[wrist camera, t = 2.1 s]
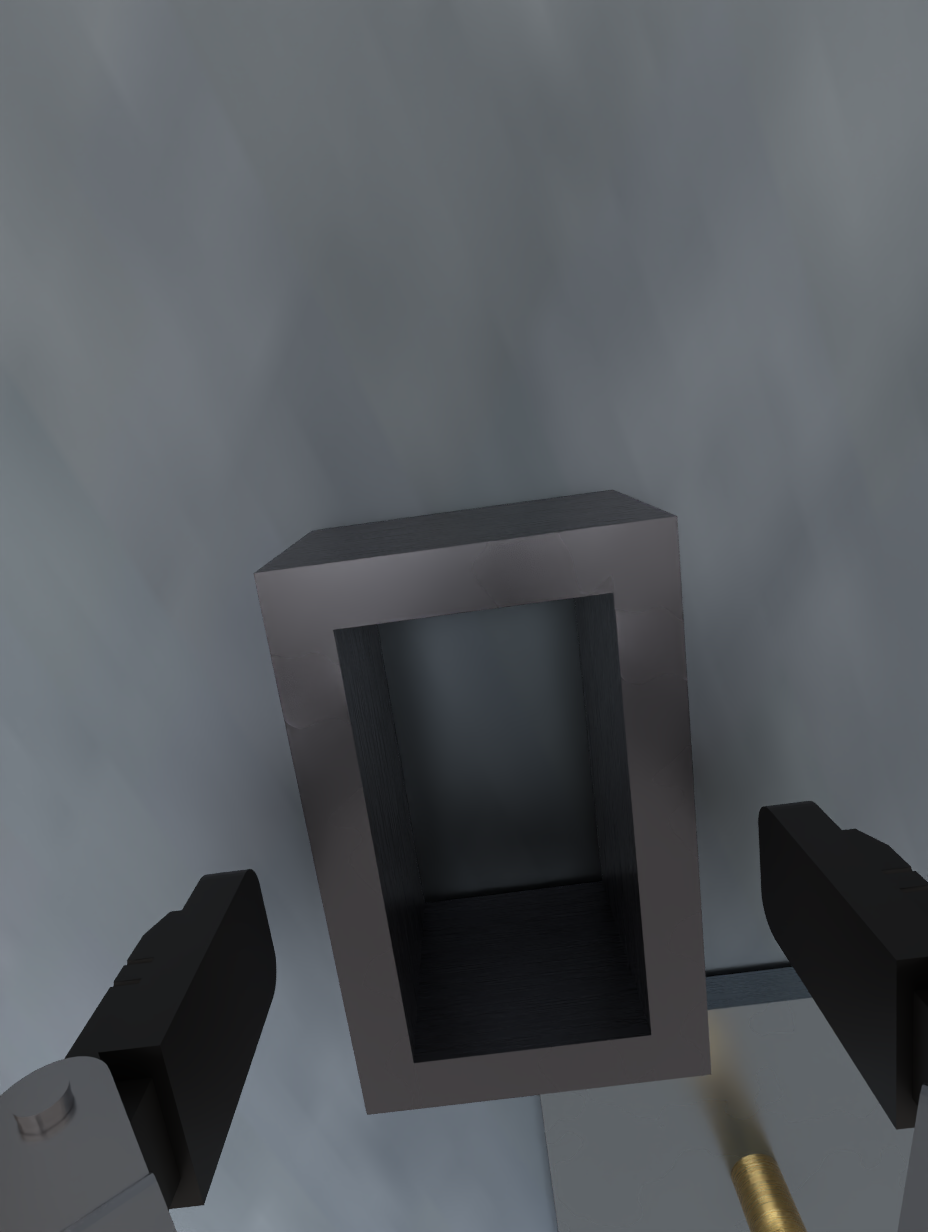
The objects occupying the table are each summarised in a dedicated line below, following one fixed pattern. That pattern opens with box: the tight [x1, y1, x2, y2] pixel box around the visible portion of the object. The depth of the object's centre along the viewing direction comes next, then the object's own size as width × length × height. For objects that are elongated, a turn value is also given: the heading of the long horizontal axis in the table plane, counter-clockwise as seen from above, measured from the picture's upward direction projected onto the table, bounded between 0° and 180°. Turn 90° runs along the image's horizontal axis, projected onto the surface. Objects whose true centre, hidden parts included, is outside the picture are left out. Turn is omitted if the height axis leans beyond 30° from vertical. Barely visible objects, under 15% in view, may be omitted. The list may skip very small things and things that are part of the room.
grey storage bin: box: [254, 490, 712, 1115], centre depth 14 cm, size 10×6×4 cm, turn 8°
